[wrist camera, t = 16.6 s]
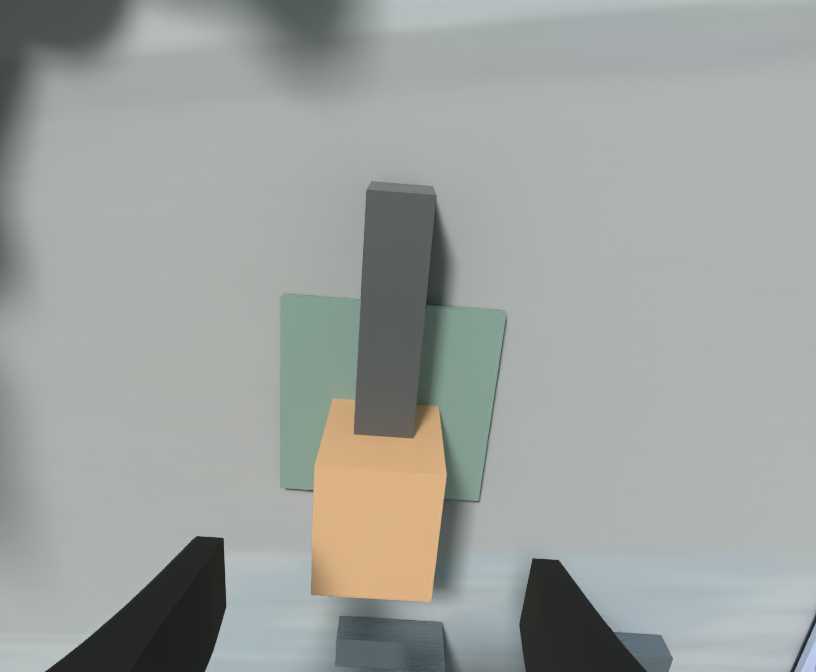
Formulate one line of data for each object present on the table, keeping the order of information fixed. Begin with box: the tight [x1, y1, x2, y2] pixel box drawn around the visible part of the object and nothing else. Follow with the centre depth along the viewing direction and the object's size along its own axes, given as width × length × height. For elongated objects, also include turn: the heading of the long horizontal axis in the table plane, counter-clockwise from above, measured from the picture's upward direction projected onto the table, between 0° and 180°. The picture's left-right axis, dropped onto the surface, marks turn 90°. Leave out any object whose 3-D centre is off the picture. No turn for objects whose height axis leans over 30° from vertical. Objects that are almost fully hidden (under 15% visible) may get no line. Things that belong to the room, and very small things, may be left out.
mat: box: [280, 294, 506, 501], centre depth 21 cm, size 8×8×1 cm
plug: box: [311, 182, 447, 602], centre depth 18 cm, size 4×13×4 cm, turn 175°
